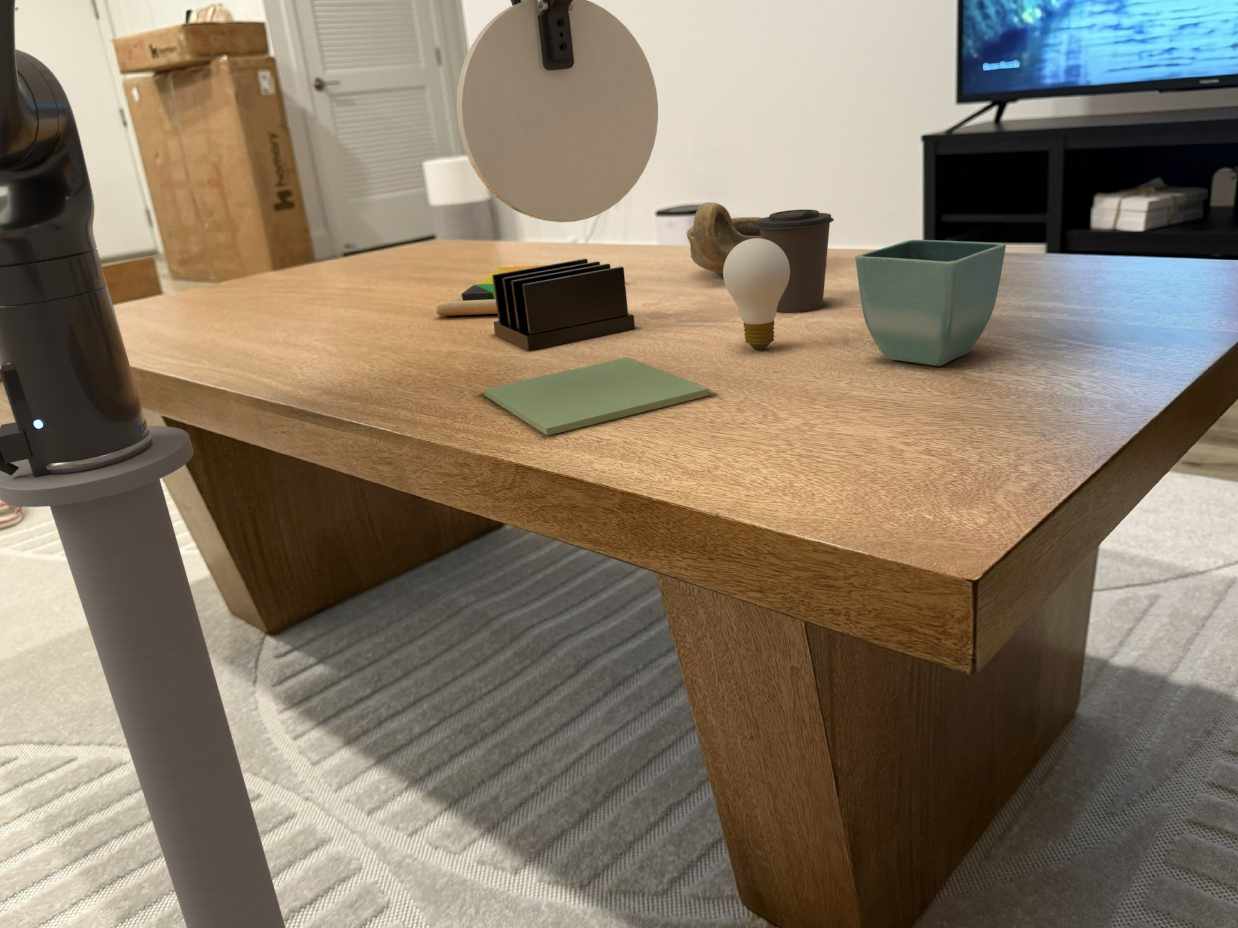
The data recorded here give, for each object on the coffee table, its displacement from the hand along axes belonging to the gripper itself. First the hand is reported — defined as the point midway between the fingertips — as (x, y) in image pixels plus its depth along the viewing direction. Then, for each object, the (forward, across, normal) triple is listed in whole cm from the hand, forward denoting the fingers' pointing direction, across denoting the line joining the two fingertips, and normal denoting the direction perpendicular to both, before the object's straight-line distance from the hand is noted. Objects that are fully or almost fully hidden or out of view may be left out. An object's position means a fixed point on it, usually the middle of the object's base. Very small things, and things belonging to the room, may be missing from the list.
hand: (554, 69), depth 73 cm
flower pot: (+25, +11, +26) cm, 38 cm away
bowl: (+25, -34, +37) cm, 57 cm away
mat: (+25, 0, 0) cm, 25 cm away
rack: (+25, -24, +8) cm, 35 cm away
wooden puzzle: (+25, -44, +12) cm, 52 cm away
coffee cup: (+25, -14, +31) cm, 42 cm away
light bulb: (+25, -2, +18) cm, 31 cm away
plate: (+11, 0, 0) cm, 11 cm away
